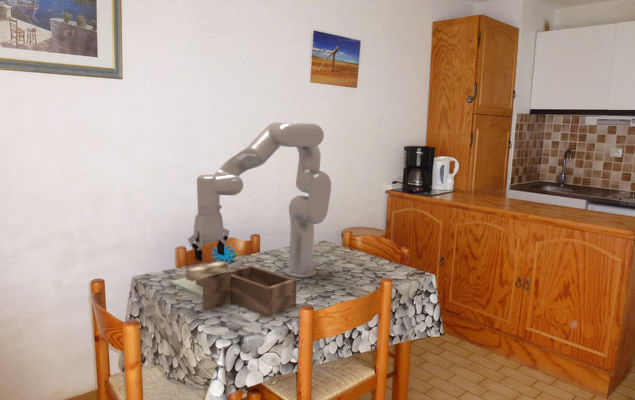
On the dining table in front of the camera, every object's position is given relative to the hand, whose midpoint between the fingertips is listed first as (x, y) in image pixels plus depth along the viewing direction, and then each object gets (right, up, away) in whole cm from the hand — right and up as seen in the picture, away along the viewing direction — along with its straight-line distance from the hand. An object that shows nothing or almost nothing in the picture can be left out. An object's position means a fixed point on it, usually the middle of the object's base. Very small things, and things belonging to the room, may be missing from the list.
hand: (210, 257), depth 168 cm
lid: (-3, -12, +3) cm, 12 cm away
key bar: (+3, -3, -18) cm, 19 cm away
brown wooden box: (+15, -14, -13) cm, 25 cm away
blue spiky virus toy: (-1, -6, +34) cm, 34 cm away
